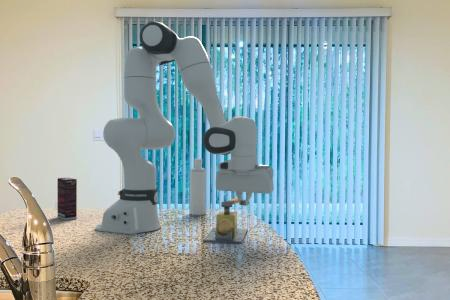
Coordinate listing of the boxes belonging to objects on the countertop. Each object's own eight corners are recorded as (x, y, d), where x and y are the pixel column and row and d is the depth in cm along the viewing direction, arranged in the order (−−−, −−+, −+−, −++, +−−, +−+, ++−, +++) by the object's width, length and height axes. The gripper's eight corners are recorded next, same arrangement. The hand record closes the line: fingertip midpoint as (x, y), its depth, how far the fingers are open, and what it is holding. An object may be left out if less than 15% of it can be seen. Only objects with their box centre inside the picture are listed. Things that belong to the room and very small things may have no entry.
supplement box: (77, 219, 153) (77, 178, 152) (64, 220, 150) (64, 179, 149) (69, 215, 159) (68, 177, 159) (56, 217, 156) (56, 178, 155)
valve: (203, 242, 120) (203, 211, 119) (213, 229, 136) (213, 202, 136) (241, 244, 118) (242, 212, 117) (247, 231, 134) (247, 203, 134)
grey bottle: (187, 214, 164) (187, 155, 163) (195, 211, 170) (195, 154, 169) (200, 215, 161) (200, 155, 160) (208, 213, 167) (208, 155, 166)
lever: (230, 207, 124) (230, 203, 124) (219, 206, 126) (219, 202, 126) (241, 202, 135) (241, 198, 135) (232, 201, 136) (232, 197, 136)
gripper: (276, 164, 129) (276, 206, 129) (221, 163, 138) (221, 201, 138) (269, 165, 123) (269, 209, 124) (213, 164, 132) (213, 204, 133)
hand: (244, 205), depth 131 cm, fingers closed
